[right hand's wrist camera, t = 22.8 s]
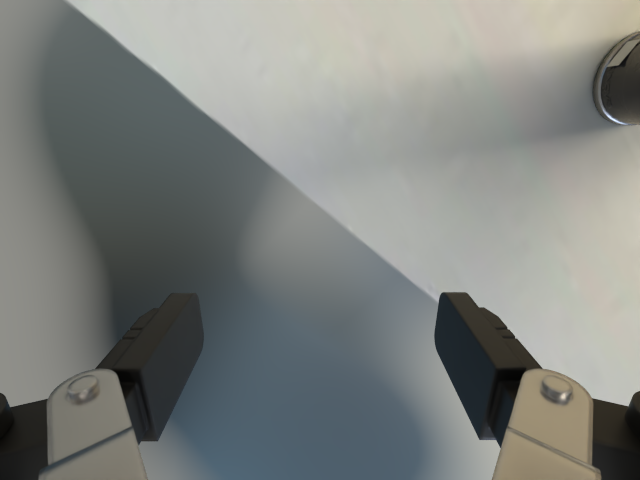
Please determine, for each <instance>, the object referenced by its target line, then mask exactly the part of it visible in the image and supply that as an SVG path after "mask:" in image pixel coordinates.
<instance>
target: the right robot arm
mask: <svg viewBox="0 0 640 480" xmlns="http://www.w3.org/2000/svg"><path fill="white" fill-rule="evenodd" d="M593 96H594V102H595V105H596V108H597V110H598V111H599V113H600V114H601V115H602V116H603V117H604V118H605V119H606V120H608V121H610V122H612V123H615V124H621V125H638V124H639V125H640V32H637V33H634V34H632V35H630V36H628V37H627V38H625V39H623V40H622V41H621V42H619V43H618V44H617V45H616V46H615V47H614V48H613V49H612V50H611V51H610V52H609V53H608V55H607V56H606V57H605V59H604V60H603V62H602V63H601V65H600V67H599V69H598V72H597V74H596V77H595V81H594V87H593ZM203 341H204V332H203V325H202V318H201V311H200V304H199V298H198V296H197V294H196V293H171V294H170V295H169V296H168V298H167V299H166V300H165V301H164V303H163V304H162V305H161V306H160V308H154V309H152V310H150V311H149V312H147V313H146V314H144V315H143V316H141V317H140V318H139V319H138V320H137V321H136V322H135V323H134V325H133V326H132V327H131V328H130V330H128V331H127V333H126V334H125V335H124V336H123V338H122V340H120V341H119V342H118V343H117V344H116V345H115V346H114V348H113V349H112V350H111V351H110V352H109V353H108V355H107V356H106V357H105V358H104V359H103V360H102V362H101V363H100V364H99V365H98V366H97V367H96V369H93V370H89V371H85V372H82V373H79V374H77V375H75V376H73V377H71V378H69V379H67V380H66V381H64V382H63V383H61V384H60V385H59V386H58V387H57V388H55V389H54V391H53V392H52V393H51V394H50V396H49V398H48V399H45V400H41V401H36V402H32V403H28V404H23V405H19V406H15V407H10V406H9V404H8V402H7V399H6V397H5V396H4V395H3V394H2V393H0V480H148V477H147V474H146V470H145V467H144V463H143V460H142V457H141V453H140V450H139V444H140V442H141V441H158V440H159V438H160V436H161V434H162V431H163V429H164V427H165V425H166V423H167V421H168V419H169V417H170V415H171V413H172V411H173V409H174V407H175V405H176V403H177V401H178V399H179V397H180V395H181V392H182V390H183V388H184V386H185V384H186V382H187V380H188V378H189V376H190V374H191V372H192V370H193V368H194V366H195V364H196V362H197V360H198V357H199V356H200V353H201V351H202V348H203ZM435 346H436V350H437V352H438V354H439V356H440V359H441V361H442V363H443V365H444V367H445V369H446V371H447V373H448V375H449V377H450V379H451V381H452V384H453V386H454V388H455V390H456V392H457V394H458V396H459V398H460V400H461V402H462V404H463V406H464V408H465V411H466V413H467V415H468V417H469V419H470V421H471V423H472V425H473V427H474V429H475V431H476V433H477V435H478V438H479V439H480V440H497V442H498V444H499V446H500V448H501V450H500V453H499V456H498V460H497V463H496V467H495V470H494V474H493V477H492V480H640V391H639V392H636V393H635V394H634V395H633V397H632V399H631V402H630V404H629V407H628V406H624V405H619V404H615V403H610V402H606V401H602V400H597V399H593V398H591V396H590V394H589V393H588V392H587V391H586V389H585V388H583V387H582V386H581V385H580V384H579V383H577V382H576V381H574V380H573V379H571V378H569V377H567V376H565V375H563V374H561V373H558V372H555V371H552V370H547V369H542V367H541V366H540V365H539V364H538V363H537V362H536V360H535V359H534V358H533V357H532V356H531V354H530V353H529V352H528V351H527V350H526V349H525V347H524V346H523V345H522V344H521V343H520V342H519V340H518V339H515V336H514V335H513V333H512V332H511V331H510V330H508V329H507V326H506V325H505V324H504V323H503V322H502V321H501V319H500V318H499V317H498V316H496V315H495V314H493V313H492V312H490V311H489V310H487V309H485V308H479V307H478V306H477V305H476V303H475V302H474V301H473V300H472V298H471V297H470V296H469V295H468V294H467V293H465V292H443V293H442V294H441V295H440V299H439V305H438V312H437V320H436V326H435Z"/></svg>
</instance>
